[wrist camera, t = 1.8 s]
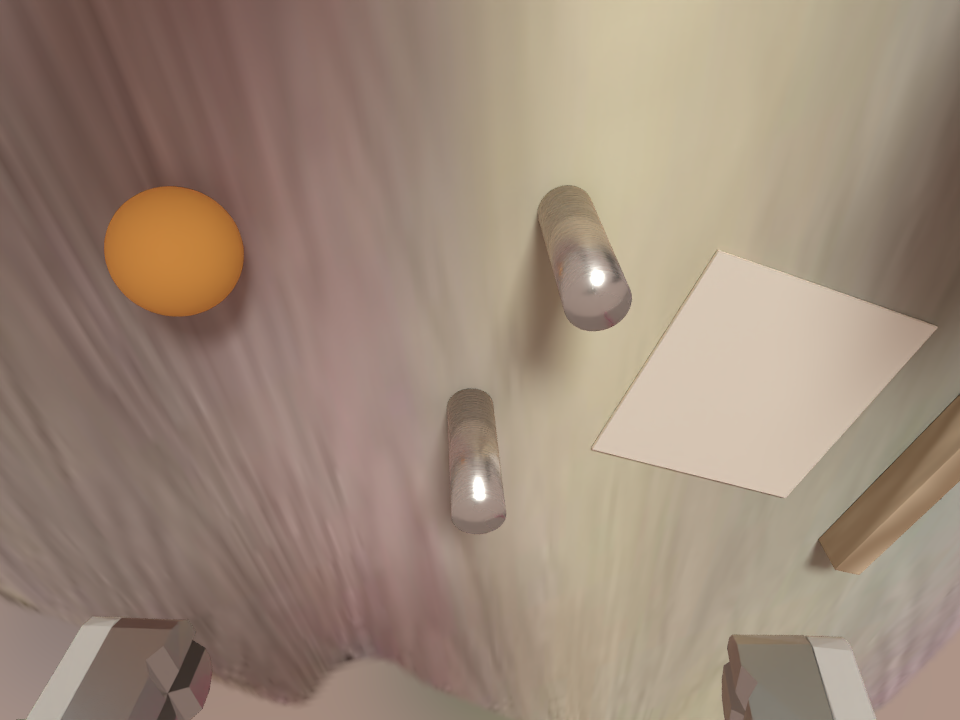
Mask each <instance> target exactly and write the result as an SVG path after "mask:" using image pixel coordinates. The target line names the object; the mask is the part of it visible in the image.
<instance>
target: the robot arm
mask: <svg viewBox="0 0 960 720" xmlns="http://www.w3.org/2000/svg"><path fill="white" fill-rule="evenodd" d="M195 633H196V631H195V629H194V628H193V626H192V625H191V623H190V621H189V620H184V619H148V618H128V617H91V618H90V619H89V620H88V621H87V622H86V623H85V624H84V625H82V626H81V628H80V629H79V631H78V633H77V634H76V636H75V638H74V640H73V641H72V643H71V644H70V646H69V648H68V649H67V651H66V653H65V655H64V656H63V658H62V659H61V661H60V663H59V665H58V666H57V668H56V670H55V671H54V673H53V675H52V677H51V678H50V680H49V681H48V683H47V685H46V687H45V688H44V690H43V691H42V693H41V695H40V696H39V698H38V700H37V702H36V703H35V705H34V707H33V708H32V710H31V711H30V713H29V715H28V717H27V718H26V719H17V720H191V719H192V718H193V717H194V716H195V715H196V714H197V713H199V712H200V711H201V710H202V709H203V706H204V703H205V701H206V698H207V695H208V693H209V690H210V683H211V676H212V665H211V659H210V656H209V654H208V652H207V650H206V648H204V647H203V646H201V645H199V644H198V643H196V642H195V641H193V638H194V636H195ZM727 650H728V655H729V661H730V662H728V663H727V664H725V665H724V667H723V675H722V702H723V711H724V718H725V720H877V719H876V716H875V713H874V710H873V708H872V705H871V702H870V699H869V696H868V693H867V690H866V688H865V685H864V682H863V679H862V676H861V673H860V670H859V667H858V665H857V662H856V659H855V656H854V653H853V650H852V647H851V646H850V644H849V643H848V642H847V641H846V639H844V638H842V637H829V636H804V635H731V636H730V637H729V641H728V646H727Z"/></svg>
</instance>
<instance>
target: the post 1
mask: <svg viewBox="0 0 960 720" xmlns="http://www.w3.org/2000/svg"><path fill="white" fill-rule="evenodd" d="M447 416H448V441H449V467H450V493H451V518H452V522H453V524H454V525H455V526H456V527H457V528H458V529H460V530H461V531H463V532H466V533H471V534H483V533H488V532H491V531H493V530H495V529H497V528H498V527H500V526H501V525H502V524H503V522H504V521H505V518H506V508H505V500H504V491H503V483H502V474H501V466H500V457H499V449H498V440H497V432H496V423H495V415H494V406H493V401H492V399H491V397H490V396H489V395H488V394H487V393H485V392H484V391H482V390H479V389H464V390H461V391H458V392H457V393H455V394H454V395H453V396H452V397H451V398H450V399H449V401H448V404H447Z"/></svg>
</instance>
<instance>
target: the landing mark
mask: <svg viewBox="0 0 960 720" xmlns="http://www.w3.org/2000/svg"><path fill="white" fill-rule="evenodd" d="M937 328H938V327H937V326H936V325H933V324H930V323H927V322H924V321H921V320H918V319H916V318H913V317H910V316H907V315H904V314H901V313H898V312H896V311H893V310H890V309H887V308H884V307H881V306H878V305H875V304H873V303H870V302H867V301H864V300H861V299H858V298H855V297H853V296H850V295H847V294H844V293H841V292H838V291H835V290H832V289H830V288H827V287H824V286H821V285H818V284H815V283H812V282H810V281H807V280H804V279H801V278H798V277H795V276H792V275H790V274H787V273H784V272H781V271H778V270H775V269H772V268H769V267H767V266H764V265H761V264H758V263H755V262H752V261H749V260H747V259H744V258H741V257H738V256H735V255H732V254H729V253H726V252H724V251H721V250H717V251H716V253H715V254H714V256H713V257H712V259H711V261H710V262H709V264H708V265H707V267H706V268H705V270H704V272H703V273H702V275H701V276H700V278H699V279H698V281H697V283H696V284H695V286H694V287H693V289H692V290H691V292H690V293H689V295H688V297H687V298H686V300H685V301H684V303H683V304H682V306H681V308H680V309H679V311H678V312H677V314H676V315H675V317H674V319H673V320H672V322H671V323H670V325H669V326H668V328H667V330H666V331H665V333H664V334H663V336H662V337H661V339H660V341H659V342H658V344H657V345H656V347H655V348H654V350H653V351H652V353H651V355H650V356H649V358H648V359H647V361H646V362H645V364H644V366H643V367H642V369H641V370H640V372H639V373H638V375H637V377H636V378H635V380H634V381H633V383H632V384H631V386H630V388H629V389H628V391H627V392H626V394H625V395H624V397H623V399H622V400H621V402H620V403H619V405H618V406H617V408H616V409H615V411H614V413H613V414H612V416H611V417H610V419H609V420H608V422H607V424H606V425H605V427H604V428H603V430H602V431H601V433H600V435H599V436H598V438H597V439H596V441H595V442H594V444H593V446H592V450H596V451H600V452H604V453H608V454H612V455H616V456H620V457H624V458H628V459H632V460H636V461H640V462H644V463H648V464H652V465H656V466H660V467H664V468H668V469H672V470H676V471H680V472H684V473H688V474H692V475H696V476H700V477H704V478H708V479H712V480H716V481H720V482H724V483H728V484H732V485H736V486H740V487H744V488H748V489H752V490H756V491H760V492H764V493H768V494H772V495H776V496H780V497H784V498H786V497H787V496H788V495H789V494H790V492H791V491H792V490H793V489H794V488H795V487H796V486H797V485H798V483H799V482H800V481H801V480H802V479H803V478H804V477H805V476H806V475H807V473H808V472H809V471H810V470H811V469H812V468H813V467H814V466H815V464H816V463H817V462H818V461H819V460H820V459H821V458H822V457H823V455H824V454H825V453H826V452H827V451H828V450H829V449H830V448H831V447H832V445H833V444H834V443H835V442H836V441H837V440H838V439H839V438H840V436H841V435H842V434H843V433H844V432H845V431H846V430H847V429H848V428H849V426H850V425H851V424H852V423H853V422H854V421H855V420H856V419H857V417H858V416H859V415H860V414H861V413H862V412H863V411H864V410H865V408H866V407H867V406H868V405H869V404H870V403H871V402H872V401H873V400H874V398H875V397H876V396H877V395H878V394H879V393H880V392H881V391H882V389H883V388H884V387H885V386H886V385H887V384H888V383H889V382H890V380H891V379H892V378H893V377H894V376H895V375H896V374H897V373H898V372H899V370H900V369H901V368H902V367H903V366H904V365H905V364H906V363H907V361H908V360H909V359H910V358H911V357H912V356H913V355H914V354H915V352H916V351H917V350H918V349H919V348H920V347H921V346H922V345H923V344H924V342H925V341H926V340H927V339H928V338H929V337H930V336H931V335H932V333H933V332H934V331H935V330H936V329H937Z"/></svg>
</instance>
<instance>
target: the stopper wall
mask: <svg viewBox="0 0 960 720" xmlns="http://www.w3.org/2000/svg"><path fill="white" fill-rule="evenodd" d="M959 481H960V395H959V396H958V397H957V398H956V399H955V400H954V401H953V402H952V403H951V404H950V405H949V406H948V407H947V408H946V409H945V410H944V411H943V412H942V413H941V415H940V416H939V417H938V418H937V419H936V420H935V421H934V422H933V423H932V424H931V425H930V426H929V427H928V428H927V429H926V430H925V431H924V432H923V433H922V434H921V435H920V436H919V437H918V438H917V439H916V440H915V441H914V442H913V443H912V444H911V445H910V446H909V447H908V448H907V449H906V450H905V451H904V452H903V453H902V454H901V456H900V457H899V458H898V459H897V460H896V461H895V462H894V463H893V464H892V465H891V466H890V467H889V468H888V469H887V470H886V471H885V472H884V473H883V474H882V475H881V476H880V477H879V478H878V479H877V480H876V481H875V482H874V483H873V484H872V485H871V486H870V487H869V488H868V489H867V490H866V491H865V492H864V493H863V494H862V495H861V496H860V498H859V499H858V500H857V501H856V502H855V503H854V504H853V505H852V506H851V507H850V508H849V509H848V510H847V511H846V512H845V513H844V514H843V515H842V516H841V517H840V518H839V519H838V520H837V521H836V522H835V523H834V524H833V525H832V526H831V527H830V528H829V529H828V530H827V531H826V532H825V533H824V534H823V535H822V536H821V537H820V538H819V541H820V543H821V545H822V547H823V549H824V550H825V552H826V554H827V556H828V558H829V560H830V561H831V563H832V565H833V567H834V569H835V570H839V571H843V572H848V573H852V574H857V575H860V574H861V573H862V572H863V571H864V570H865V569H866V568H867V567H868V566H869V565H870V564H871V563H872V562H873V561H875V560H876V559H877V558H878V557H879V556H880V555H881V554H882V553H883V552H884V551H885V550H886V549H887V548H888V547H889V546H891V545H892V544H893V543H894V542H895V541H896V540H897V539H898V538H899V537H900V536H901V535H902V534H903V533H904V532H906V531H907V530H908V529H909V528H910V527H911V526H912V525H913V524H914V523H915V522H916V521H917V520H918V519H919V518H920V517H922V516H923V515H924V514H925V513H926V512H927V511H928V510H929V509H930V508H931V507H932V506H933V505H934V504H935V503H937V502H938V501H939V500H940V499H941V498H942V497H943V496H944V495H945V494H946V493H947V492H948V491H949V490H950V489H951V488H953V487H954V486H955V485H956V484H957V483H958V482H959Z"/></svg>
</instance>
